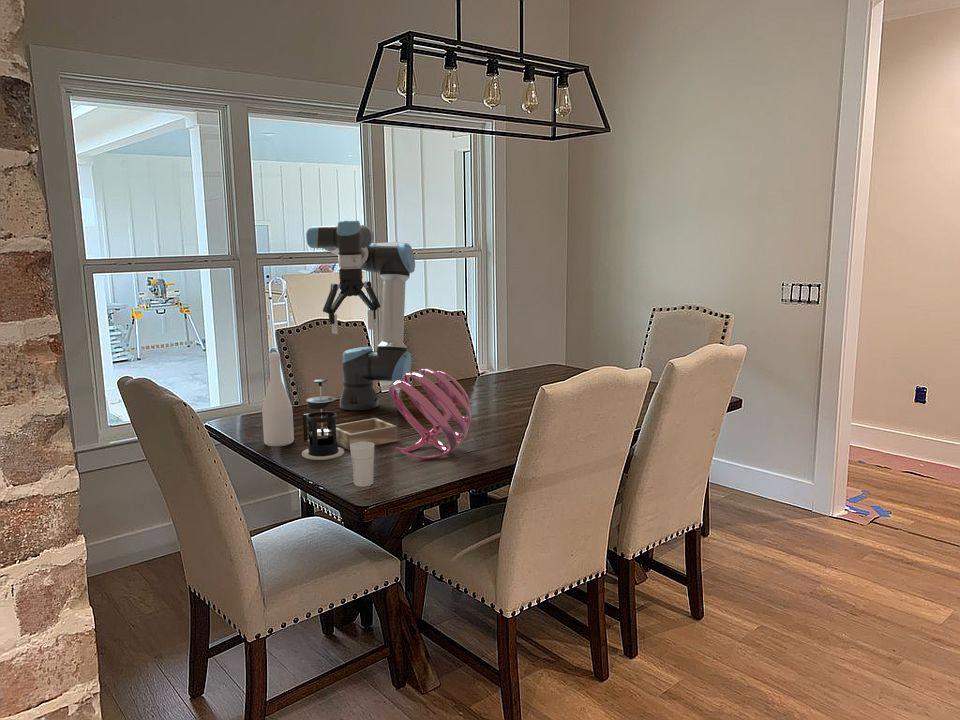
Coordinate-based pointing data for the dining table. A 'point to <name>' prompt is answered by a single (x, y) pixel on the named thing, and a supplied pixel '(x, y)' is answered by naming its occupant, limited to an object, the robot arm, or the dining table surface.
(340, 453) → the trivet
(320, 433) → the french press
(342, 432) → the holder
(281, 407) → the wine bottle
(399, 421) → the dining table surface
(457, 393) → the spiral basket
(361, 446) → the cup
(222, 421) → the dining table surface
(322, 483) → the dining table surface
